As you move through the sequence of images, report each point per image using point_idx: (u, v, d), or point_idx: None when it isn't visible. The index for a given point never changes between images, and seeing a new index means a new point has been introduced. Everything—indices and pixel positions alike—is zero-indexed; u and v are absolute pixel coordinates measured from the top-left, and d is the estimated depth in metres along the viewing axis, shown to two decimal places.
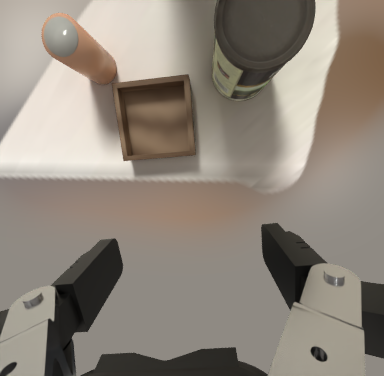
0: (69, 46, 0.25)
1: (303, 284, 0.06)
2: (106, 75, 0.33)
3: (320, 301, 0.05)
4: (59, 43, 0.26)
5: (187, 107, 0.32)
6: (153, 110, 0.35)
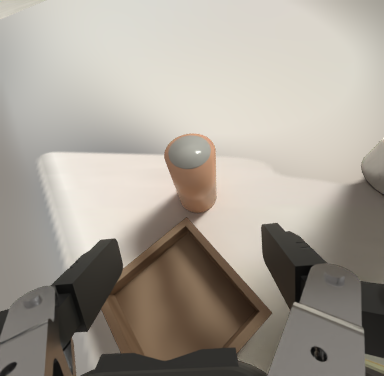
0: (185, 162, 0.20)
1: (303, 284, 0.06)
2: (192, 205, 0.26)
3: (320, 301, 0.05)
4: (182, 152, 0.21)
5: None
6: (191, 284, 0.22)
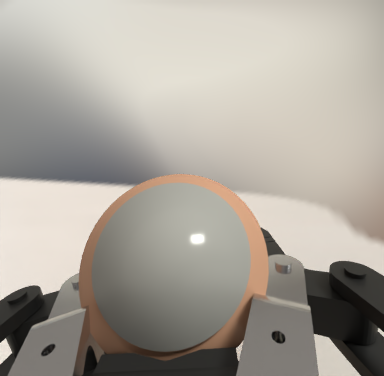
0: (150, 312, 0.05)
1: None
2: None
3: None
4: (141, 257, 0.06)
5: None
6: None
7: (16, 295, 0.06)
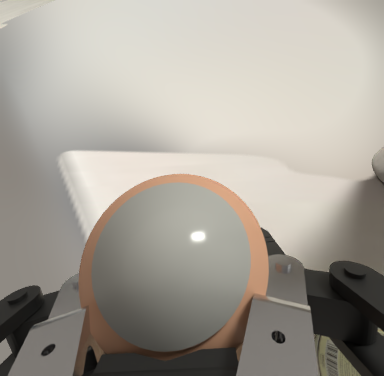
0: (150, 312, 0.05)
1: None
2: None
3: None
4: (141, 257, 0.06)
5: None
6: None
7: (16, 295, 0.06)
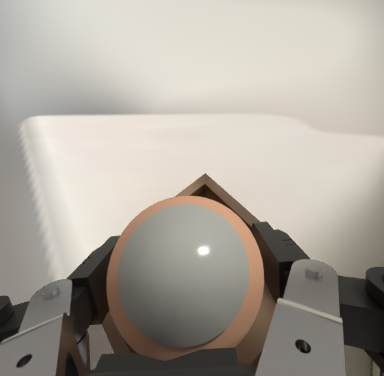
0: (168, 316, 0.06)
1: (286, 279, 0.07)
2: None
3: (297, 293, 0.05)
4: (158, 270, 0.07)
5: None
6: None
7: None
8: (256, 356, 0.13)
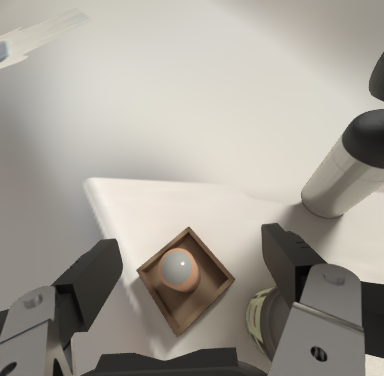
0: (173, 278, 0.28)
1: (303, 284, 0.06)
2: None
3: (320, 301, 0.05)
4: (171, 268, 0.29)
5: (211, 297, 0.33)
6: None
7: None
8: None
